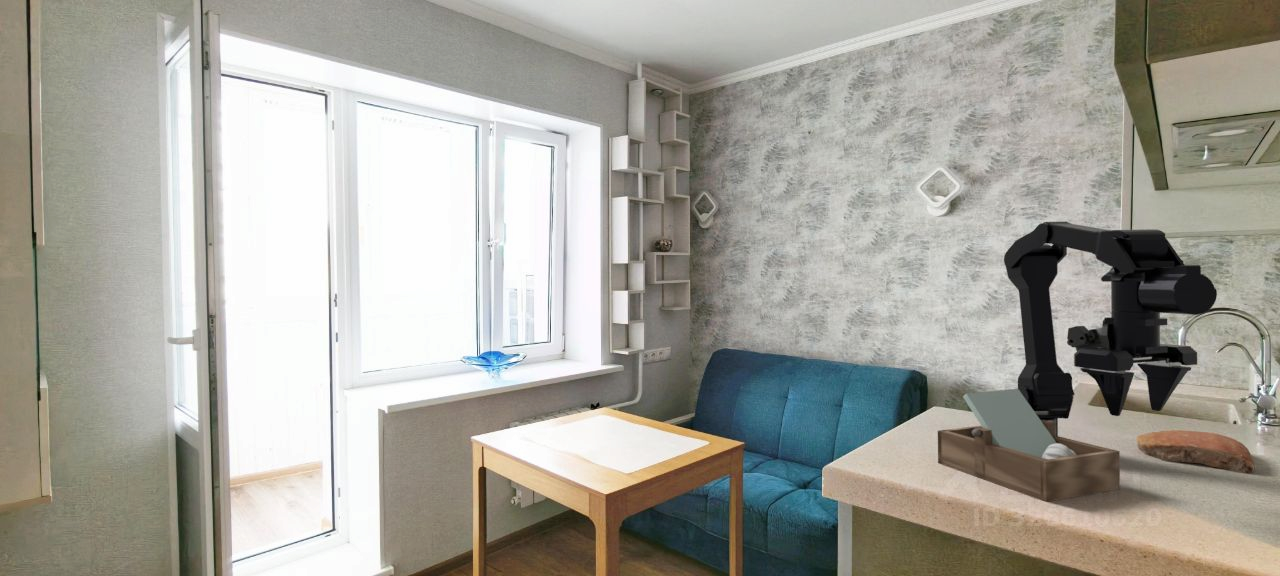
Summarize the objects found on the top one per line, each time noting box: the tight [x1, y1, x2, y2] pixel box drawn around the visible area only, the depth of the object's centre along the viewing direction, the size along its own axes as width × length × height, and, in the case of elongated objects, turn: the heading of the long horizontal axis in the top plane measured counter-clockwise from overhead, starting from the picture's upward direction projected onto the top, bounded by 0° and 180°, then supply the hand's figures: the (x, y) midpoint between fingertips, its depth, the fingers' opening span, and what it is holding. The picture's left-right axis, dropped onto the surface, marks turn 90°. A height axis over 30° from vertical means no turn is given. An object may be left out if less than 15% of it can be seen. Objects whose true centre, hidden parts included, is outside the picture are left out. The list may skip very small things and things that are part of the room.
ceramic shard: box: [1136, 429, 1255, 474], centre depth 108 cm, size 15×6×15 cm
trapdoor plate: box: [962, 388, 1056, 458], centre depth 100 cm, size 12×14×1 cm
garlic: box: [1042, 443, 1076, 460], centre depth 93 cm, size 6×5×5 cm
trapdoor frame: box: [937, 420, 1121, 502], centre depth 99 cm, size 18×20×8 cm
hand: (1135, 413), depth 91 cm, fingers open, 9 cm apart
